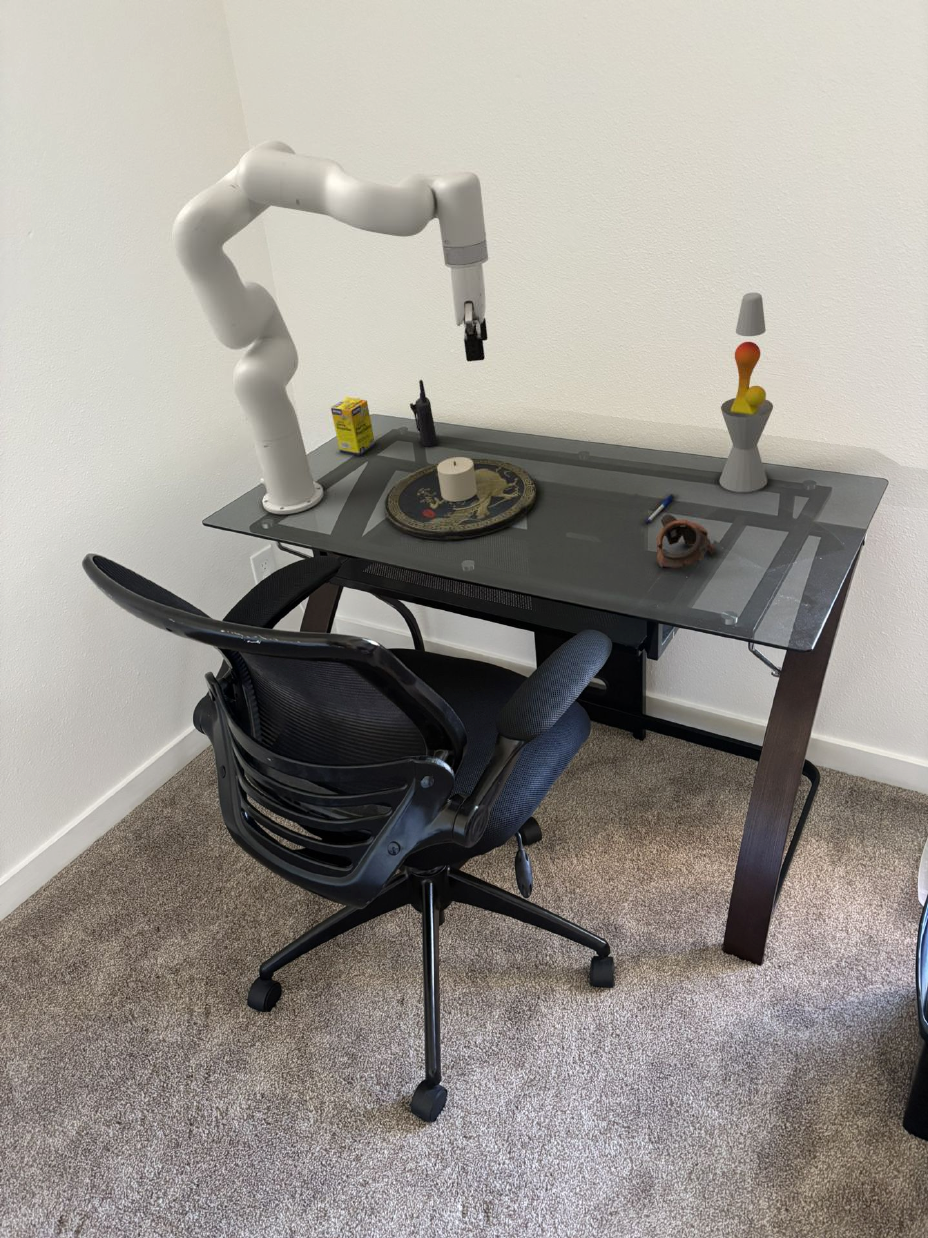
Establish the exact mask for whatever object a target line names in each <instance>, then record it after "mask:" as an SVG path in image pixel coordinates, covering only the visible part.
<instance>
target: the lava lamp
mask: <svg viewBox="0 0 928 1238" xmlns="http://www.w3.org/2000/svg"><path fill="white" fill-rule="evenodd" d="M763 302H764V301H763V296H762V294H760V293H759V292H747V293H745V294H743V296H742V298H741V303H740V308H739V314H738V318H737V323H736V328H735V334H736V335H738V336H741V337H757V336H760V335H763V334H765V333H766V331H767V329H766V321H765V320H766V319H765V312H764V311H765V310H764V303H763ZM760 358H761V348H760V347H759V346H758V344H757V343H755V342H753V341H744V342H742V343H740V344H739V345H738V346H737V347H736V348H735V351H734V360H735V363H736V367H737V374H738V387H737V392H736V395H735V397H734V398H730V399H728V400H725V401H724V402H723V403H722V404H721V405H720V411H721V415H722V417H723V419H724V422H725V427H726V429H727V432H728V434H729V436H730V440H731V443H732V446H731V449H730V452H729V454H728V457H727V459H726V461H725V465H724V467H723V469H722V472H721V474H720V478H719V485H720V486H721V487H722V488H724V489H726V490H728V491H731V492H735V493H750V492H755V491H759V490H761V489H763V488H764V487H765V486H767V483H768V478H767V475H766V471H765V468H764V464H763V460H762V457H761V453H760V451H759V447H758V443H759V441H760V439H761V438H762V435H763V433H764V430H765V427H766V425H767V423H768V421H769V418H770V417H771V414H772V412H773V409H774V404H773V403H772V402H771V401H770V400H768V399H767V393H766V390H765V389H764V388H763V387H762V386H760V385H752V386H750V382H751V378H752V375H753V372H754V369H755V368H756V366H757V364H758V362H759V361H760Z"/></svg>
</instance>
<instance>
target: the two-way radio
mask: <svg viewBox="0 0 928 1238" xmlns="http://www.w3.org/2000/svg"><path fill="white" fill-rule="evenodd" d="M418 383H419V398H417V399H416V401H415V403H413V402H411V403H409V407H410V410H411V411H412V413H413V415H414V420H415V425H416V430H417V432H419V437H420V441H421V444H422V446H424V447H432V446H436V445H437V443H438V442H437V433H436V426H435V421H434V417H433V411H432V405H431V400H430V399H429V398H428V397H427V394H426V391H425V386H424V385H425V384H424V381H423V380H422V379H419V380H418Z"/></svg>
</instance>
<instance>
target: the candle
mask: <svg viewBox="0 0 928 1238" xmlns="http://www.w3.org/2000/svg"><path fill="white" fill-rule="evenodd" d="M470 459H471V458H469V457H464V456H455V457H449V458H447V459H444V460H442V461H441V462H439V463H440V464H439V463H438V464H439V465H438V466H437V470H438V476H439V483H440V489H441V495H442V497H443V498H444V499H445V500H447V501H453V502H458V501H464V500H467V499H470V498H471V497H473V496H474V495H475V494H476V492H477V487H476V480H475V473H474V465H473V461H472V460H470Z"/></svg>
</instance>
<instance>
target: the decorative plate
mask: <svg viewBox="0 0 928 1238" xmlns="http://www.w3.org/2000/svg"><path fill="white" fill-rule="evenodd" d="M469 459H470V460H472V461H473V465H474V473H475V480H476V487H477V492H476V494H475V495H474V496H473V497H471V498H470V499H467V500H464V501H458V502H453V501H447V500H445V499H444V498H443V497H442V495H441V489H440V483H439V476H438V470H437V466H438V465H439V464H440V463H441V462H439V463H436V464H431V465H429V466H426V467H423V468H420V469H418V470H417V471H414V472H412V473H410V474H407V476H405V477H404V478H402V479H400V480H399V481H398V482H396V483H395V485H393V486H392V487H391V489H390V490H389V491H388V493H387V495H386V497H385V499H384V514H385V516H386V518H387V520H388V522H389V523H390V524H391V525H392V526H393V527H394V528H395V529H397V530H399V531H400V532H403V533H404V534H407V535H410V536H414V537H418V538H423V539H428V540H440V541H442V540H445V541H449V540H463V539H470V538H475V537H480V536H484V535H487V534H491V533H494V532H496V531H499V530H502V529H504V528H506V527H509V526H510V525H512V524H513V523H516V522H517V521H518V520H519V519H521V518H522V517H524V516H525V515H526V514H527V513H528V512H529V511H530V509H531V508H532V507H533V505H534V503H535V501H536V497H537V488H536V486H535V485H536V484H535V482H534V479H533V478H532V477H531V476H530V474H529V473H528V472H527V471H525V470H524V469H522V467H519V466H517V465H514V464H513V463H509V462H505V461H501V460H498V459H497V460H496V459H489V458H469Z"/></svg>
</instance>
